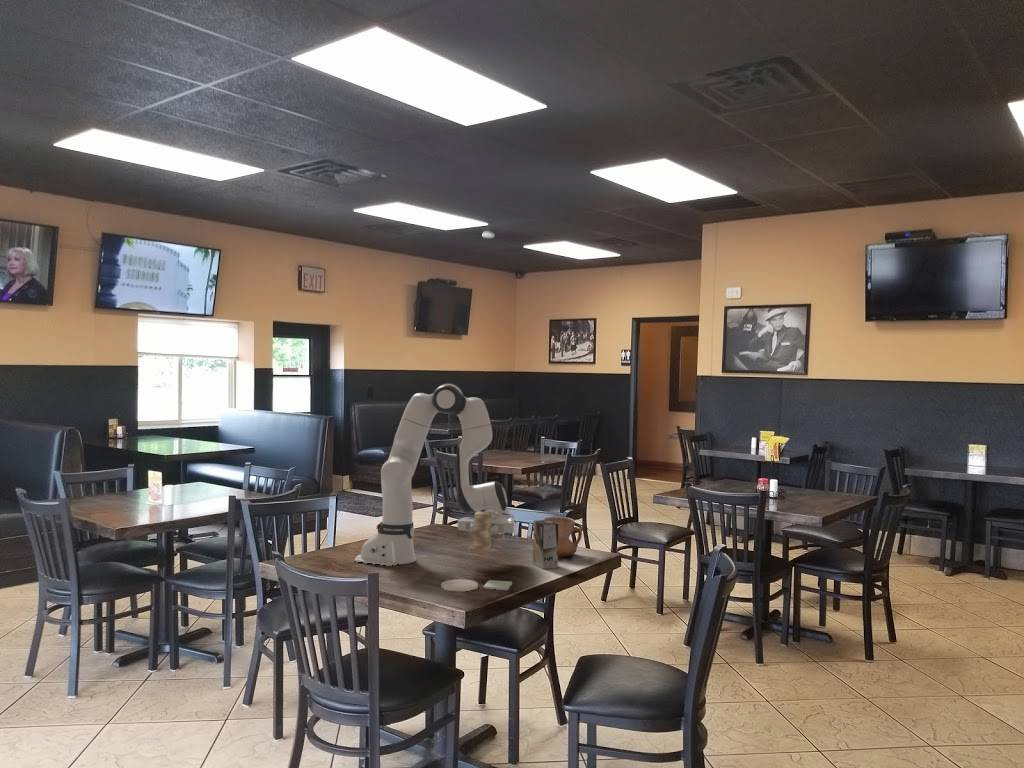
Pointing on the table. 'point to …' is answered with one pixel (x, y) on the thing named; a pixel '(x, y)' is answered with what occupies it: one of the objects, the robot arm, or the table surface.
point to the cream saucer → (459, 585)
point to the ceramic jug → (566, 535)
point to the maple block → (482, 530)
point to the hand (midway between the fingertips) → (481, 529)
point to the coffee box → (545, 544)
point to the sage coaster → (497, 585)
